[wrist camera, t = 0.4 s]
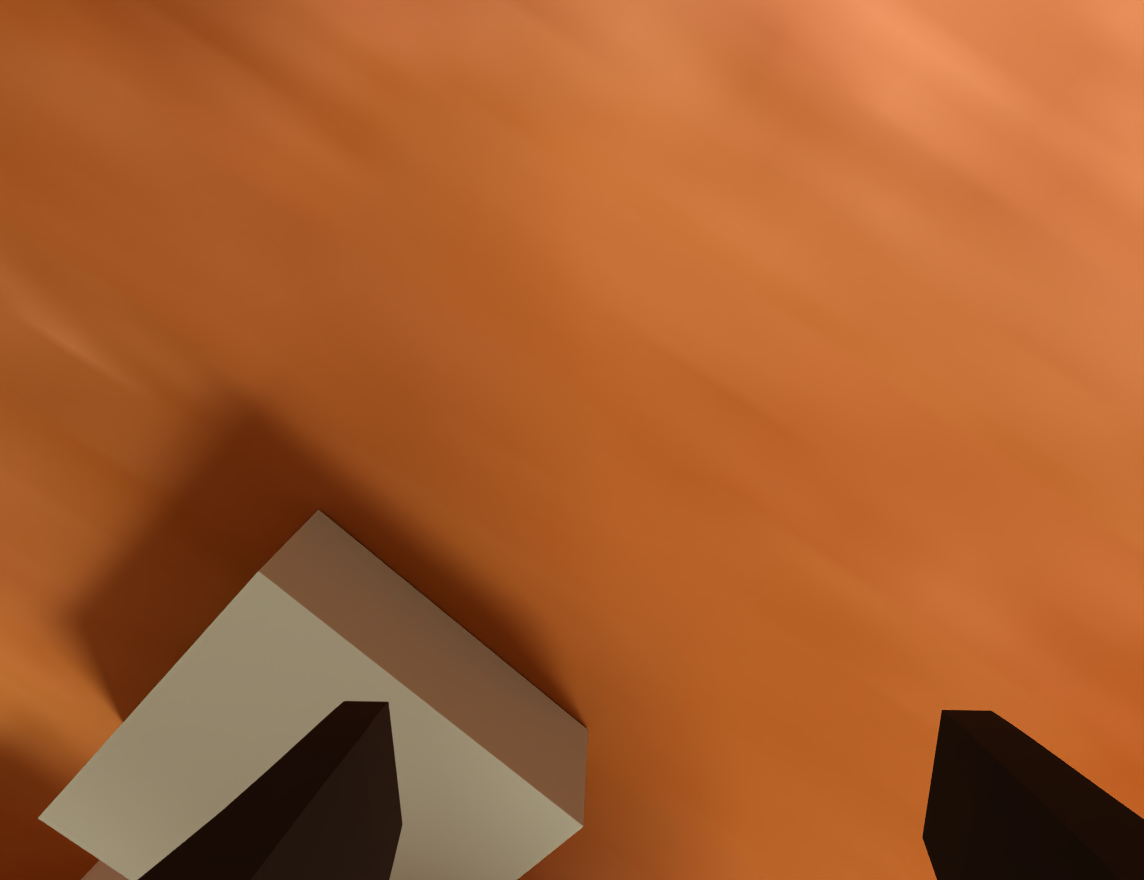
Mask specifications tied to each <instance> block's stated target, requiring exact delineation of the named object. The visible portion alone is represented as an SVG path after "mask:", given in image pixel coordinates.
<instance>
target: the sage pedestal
mask: <svg viewBox="0 0 1144 880" xmlns="http://www.w3.org/2000/svg"><path fill="white" fill-rule="evenodd" d="M343 701H381V702H389V710H390V719H391V727H392V736H393V745H394V754H395V762H396V771H397V780H398V789H399V797H400V806H401V815H402V824H403V825H402V829H401V833H400V837H399V842H398V846H397V850H396V854H395V859H394V863H393V867H392V871H391V875H390V879H389V880H517V879H519V878H520V877H521V876H522V875H524V874H525V873H526V872H527V871H529V870H530V869H531V868H532V867H534V866H535V865H536V864H537V863H539V862H540V861H541V860H542V859H544V858H545V857H546V856H547V855H549V854H550V853H551V852H552V851H554V850H555V849H556V848H557V847H559V846H560V845H561V844H562V843H563V842H565V841H566V840H567V839H568V838H570V837H571V836H572V835H573V834H575V833H576V832H577V831H578V830H580V829H581V828H582V827H583V826H584V805H585V783H586V761H587V740H588V730H587V729H586V728H585V727H584V726H583V725H581V724H580V723H579V722H578V721H576V720H575V719H574V718H573V717H572V716H570V715H569V714H568V713H567V712H565V711H564V710H563V709H562V708H561V707H559V706H558V705H557V704H556V703H554V702H553V701H552V700H551V699H550V698H548V697H547V696H546V695H545V694H543V693H542V692H541V691H540V690H539V689H537V688H536V687H535V686H534V685H532V684H531V683H530V682H529V681H528V680H526V679H525V678H524V677H523V676H521V675H520V674H519V673H518V672H517V671H515V670H514V669H513V668H512V667H510V666H509V665H508V664H507V663H506V662H504V661H503V660H502V659H501V658H499V657H498V656H497V655H496V654H495V653H493V652H492V651H491V650H490V649H488V648H487V647H486V646H485V645H484V644H482V643H481V642H480V641H479V640H477V639H476V638H475V637H474V636H473V635H471V634H470V633H469V632H468V631H466V630H465V629H464V628H463V627H462V626H460V625H459V624H458V623H457V622H455V621H454V620H453V619H452V618H451V617H449V616H448V615H447V614H446V613H444V612H443V611H442V610H441V609H440V608H438V607H437V606H436V605H435V604H433V603H432V602H431V601H430V600H429V599H427V598H426V597H425V596H424V595H422V594H421V593H420V592H419V591H418V590H416V589H415V588H414V587H413V586H411V585H410V584H409V583H408V582H407V581H405V580H404V579H403V578H402V577H400V576H399V575H398V574H397V573H396V572H394V571H393V570H392V569H391V568H389V567H388V566H387V565H386V564H385V563H383V562H382V561H381V560H380V559H378V558H377V557H376V556H375V555H374V554H372V553H371V552H370V551H369V550H367V549H366V548H365V547H364V546H363V545H361V544H360V543H359V542H358V541H356V540H355V539H354V538H353V537H352V536H350V535H349V534H348V533H347V532H345V531H344V530H343V529H342V528H341V527H339V526H338V525H337V524H336V523H334V522H333V521H332V520H331V519H329V518H328V517H327V516H326V515H325V514H323V513H322V512H321V511H320V510H318V511H317V512H316V513H315V514H314V515H313V516H312V517H311V518H310V519H309V520H308V521H307V522H306V523H305V524H304V525H303V526H302V527H301V528H300V529H299V530H298V531H297V532H296V533H295V534H294V535H293V536H292V537H291V538H290V539H289V540H288V541H287V542H286V543H285V544H284V545H283V546H282V547H281V548H280V549H279V550H278V551H277V552H276V554H275V555H274V556H273V557H272V558H271V559H270V560H269V561H268V562H267V563H266V564H265V565H264V566H263V567H262V568H261V569H260V570H259V571H258V572H257V573H256V574H255V575H254V577H253V578H252V579H251V580H250V581H249V582H248V583H247V584H246V585H245V587H244V588H243V589H242V590H241V591H240V592H239V593H238V594H237V596H236V597H235V598H234V599H233V600H232V601H231V602H230V603H229V605H228V606H227V607H226V608H225V609H224V610H223V611H222V612H221V613H220V615H219V616H218V617H217V618H216V619H215V620H214V621H213V622H212V624H211V625H210V626H209V627H208V628H207V629H206V630H205V631H204V633H203V634H202V635H201V636H200V637H199V638H198V639H197V640H196V641H195V643H194V644H193V645H192V646H191V647H190V648H189V649H188V650H187V652H186V653H185V654H184V655H183V656H182V657H181V658H180V659H179V661H178V662H177V663H176V664H175V665H174V666H173V667H172V668H171V669H170V671H169V672H168V673H167V674H166V675H165V676H164V677H163V678H162V680H161V681H160V682H159V683H158V684H157V685H156V686H155V687H154V689H153V690H152V691H151V692H150V693H149V694H148V695H147V696H146V697H145V699H144V700H143V701H142V702H141V703H140V704H139V705H138V706H137V708H136V709H135V710H134V711H133V712H132V713H131V714H130V715H129V717H128V718H127V719H126V720H125V721H124V722H123V723H122V724H121V726H120V727H119V728H118V729H117V730H116V731H115V732H114V733H113V734H112V736H111V737H110V738H109V739H108V740H107V741H106V742H105V743H104V745H103V746H102V747H101V748H100V749H99V750H98V751H97V752H96V754H95V755H94V756H93V757H92V758H91V759H90V760H89V761H88V762H87V764H86V765H85V766H84V767H83V768H82V769H81V770H80V771H79V773H78V774H77V775H76V776H75V777H74V778H73V779H72V780H71V782H70V783H69V784H68V785H67V786H66V787H65V788H64V789H63V790H62V792H61V793H60V794H59V795H58V796H57V797H56V798H55V799H54V801H53V802H52V803H51V804H50V805H49V806H48V807H47V808H46V810H45V811H44V812H43V813H42V814H41V815H40V816H39V817H38V819H40V820H41V821H43V822H44V823H46V824H47V825H49V826H50V827H52V828H53V829H54V830H56V831H57V832H59V833H60V834H62V835H63V836H65V837H66V838H68V839H69V840H71V841H72V842H74V843H75V844H77V845H78V846H80V847H81V848H83V849H84V850H86V851H87V852H89V853H90V854H92V855H93V856H95V857H96V858H98V859H99V860H101V861H102V862H104V863H105V864H107V865H108V866H110V867H111V868H113V869H114V870H116V871H117V872H119V873H120V874H122V875H123V876H125V877H126V878H128V879H129V880H138V879H139V878H140V877H142V876H143V875H144V874H145V873H146V872H148V871H149V870H150V869H151V868H153V867H154V866H155V865H156V864H157V863H159V862H160V861H161V860H162V859H164V858H165V857H166V856H167V855H168V854H170V853H171V852H172V851H173V850H175V849H176V848H177V847H178V846H179V845H181V844H182V843H183V842H184V841H186V840H187V839H188V838H189V837H190V836H192V835H193V834H194V833H195V832H197V831H198V830H199V829H200V828H201V827H203V826H204V825H205V824H206V823H208V822H209V821H210V820H211V819H212V818H214V817H215V816H216V815H217V814H218V813H220V812H221V811H222V810H223V809H224V808H225V807H227V806H228V805H229V804H230V803H231V802H232V801H233V800H234V799H236V798H237V797H238V796H239V795H240V794H241V793H242V792H243V791H245V790H246V789H247V788H248V787H249V786H250V785H251V784H252V783H254V782H255V781H256V780H257V779H258V778H259V777H260V776H262V775H263V774H264V773H265V772H266V771H267V770H268V769H269V768H271V767H272V766H273V765H274V764H275V763H276V762H277V761H278V760H279V759H280V758H282V757H283V756H284V755H285V754H286V753H287V752H288V751H289V750H290V749H291V748H292V747H294V746H295V745H296V744H297V743H298V742H299V741H300V740H301V739H302V738H303V737H305V736H306V735H307V734H308V733H309V732H310V731H311V730H312V729H313V728H314V727H315V726H316V725H318V724H319V723H320V722H321V721H322V720H323V719H324V718H325V717H326V716H327V715H329V714H330V713H331V712H332V711H333V710H334V709H335V708H337V707H338V706H339V705H340V704H341V703H342V702H343Z"/></svg>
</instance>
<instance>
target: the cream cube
mask: <svg viewBox="0 0 1144 880" xmlns="http://www.w3.org/2000/svg"><path fill="white" fill-rule="evenodd" d="M81 880H129V879H128V878H126V877H125V876H123V875H122V874H120V873H119V872H117V871H116V870H114V869H113V868H111V867H110V866H108V865H107V864H105V863H104V862H102V861H101V860H99V861H98V862H97V863H96V864H95V865H94V866H93V867H92V868H91V869H90V870H89V871H88V872H87V874H86V875H85V876H84V877H83V878H82V879H81Z"/></svg>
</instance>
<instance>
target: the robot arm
mask: <svg viewBox="0 0 1144 880" xmlns="http://www.w3.org/2000/svg"><path fill="white" fill-rule="evenodd" d="M402 825H403V824H402V815H401V806H400V797H399V789H398V780H397V771H396V762H395V754H394V745H393V736H392V727H391V719H390V710H389V702H381V701H343V702H342V703H341V704H340V705H339V706H338V707H337V708H335V709H334V710H333V711H332V712H331V713H330V714H329V715H327V716H326V717H325V718H324V719H323V720H322V721H321V722H320V723H319V724H318V725H316V726H315V727H314V728H313V729H312V730H311V731H310V732H309V733H308V734H307V735H306V736H305V737H303V738H302V739H301V740H300V741H299V742H298V743H297V744H296V745H295V746H294V747H292V748H291V749H290V750H289V751H288V752H287V753H286V754H285V755H284V756H283V757H282V758H280V759H279V760H278V761H277V762H276V763H275V764H274V765H273V766H272V767H271V768H269V769H268V770H267V771H266V772H265V773H264V774H263V775H262V776H260V777H259V778H258V779H257V780H256V781H255V782H254V783H252V784H251V785H250V786H249V787H248V788H247V789H246V790H245V791H243V792H242V793H241V794H240V795H239V796H238V797H237V798H236V799H234V800H233V801H232V802H231V803H230V804H229V805H228V806H227V807H225V808H224V809H223V810H222V811H221V812H220V813H218V814H217V815H216V816H215V817H214V818H212V819H211V820H210V821H209V822H208V823H206V824H205V825H204V826H203V827H201V828H200V829H199V830H198V831H197V832H195V833H194V834H193V835H192V836H190V837H189V838H188V839H187V840H186V841H184V842H183V843H182V844H181V845H179V846H178V847H177V848H176V849H175V850H173V851H172V852H171V853H170V854H168V855H167V856H166V857H165V858H164V859H162V860H161V861H160V862H159V863H157V864H156V865H155V866H154V867H153V868H151V869H150V870H149V871H148V872H146V873H145V874H144V875H143V876H142V877H140V878H139V879H138V880H389V879H390V875H391V871H392V867H393V863H394V859H395V854H396V850H397V846H398V842H399V837H400V833H401V829H402ZM923 840H924V843H925V846H926V849H927V852H928V855H929V857H930V860H931V863H932V866H933V869H934V872H935V875H936V878H937V880H1144V819H1143V818H1141V817H1140V816H1138V815H1137V814H1136V813H1134V812H1133V811H1131V810H1130V809H1129V808H1127V807H1126V806H1124V805H1123V804H1122V803H1120V802H1119V801H1117V800H1116V799H1115V798H1113V797H1112V796H1110V795H1109V794H1108V793H1106V792H1105V791H1104V790H1102V789H1101V788H1099V787H1098V786H1097V785H1095V784H1094V783H1093V782H1091V781H1090V780H1088V779H1087V778H1086V777H1084V776H1083V775H1082V774H1080V773H1079V772H1077V771H1076V770H1075V769H1073V768H1072V767H1071V766H1069V765H1068V764H1066V763H1065V762H1064V761H1062V760H1061V759H1060V758H1058V757H1057V756H1055V755H1054V754H1053V753H1051V752H1050V751H1048V750H1047V749H1046V748H1044V747H1043V746H1042V745H1040V744H1039V743H1037V742H1036V741H1035V740H1033V739H1032V738H1030V737H1029V736H1028V735H1026V734H1025V733H1023V732H1022V731H1021V730H1019V729H1018V728H1016V727H1015V726H1013V725H1012V724H1010V723H1009V722H1008V721H1006V720H1005V719H1003V718H1001V717H1000V716H998V715H997V714H995V713H994V712H992V711H970V710H942V713H941V720H940V726H939V733H938V739H937V746H936V752H935V759H934V765H933V772H932V778H931V785H930V792H929V798H928V805H927V811H926V818H925V824H924V831H923Z"/></svg>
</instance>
